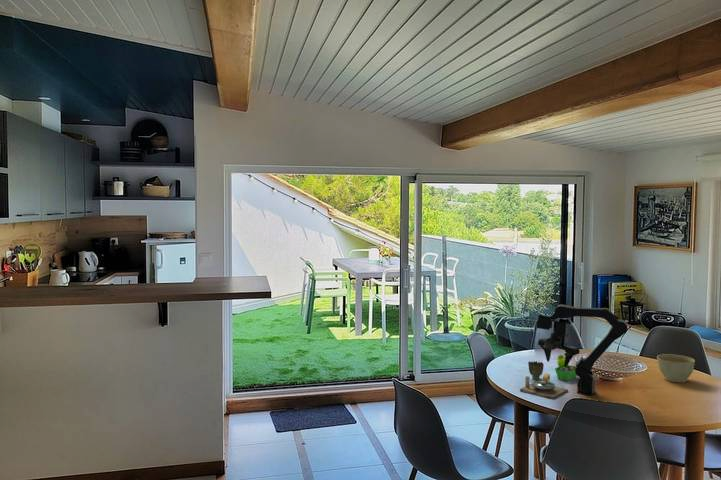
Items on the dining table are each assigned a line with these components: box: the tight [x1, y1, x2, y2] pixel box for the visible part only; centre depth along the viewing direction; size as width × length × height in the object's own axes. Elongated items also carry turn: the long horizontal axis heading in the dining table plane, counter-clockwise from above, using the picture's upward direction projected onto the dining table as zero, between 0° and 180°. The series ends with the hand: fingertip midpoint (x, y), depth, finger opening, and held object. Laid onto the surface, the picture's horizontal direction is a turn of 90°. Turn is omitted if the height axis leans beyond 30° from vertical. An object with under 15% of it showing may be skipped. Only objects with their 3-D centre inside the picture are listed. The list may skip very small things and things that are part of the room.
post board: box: [519, 380, 569, 400], centre depth 248 cm, size 16×15×5 cm
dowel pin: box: [524, 375, 530, 387], centre depth 251 cm, size 2×2×5 cm
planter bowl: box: [656, 353, 696, 383], centre depth 263 cm, size 16×16×11 cm
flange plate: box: [531, 373, 556, 390], centre depth 249 cm, size 14×10×3 cm
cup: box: [527, 360, 545, 380], centre depth 267 cm, size 8×7×8 cm
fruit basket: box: [554, 354, 578, 381], centre depth 268 cm, size 11×9×11 cm
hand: (556, 364), depth 250 cm, fingers open, 9 cm apart
